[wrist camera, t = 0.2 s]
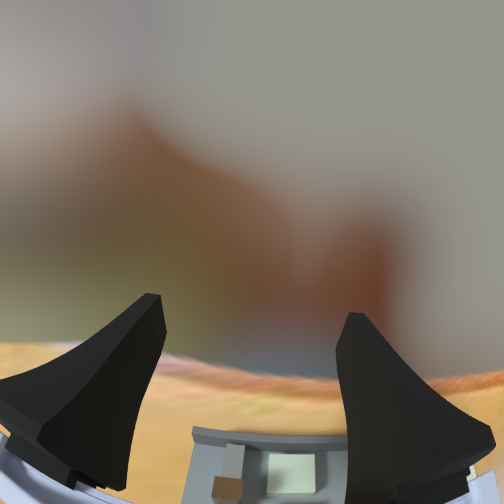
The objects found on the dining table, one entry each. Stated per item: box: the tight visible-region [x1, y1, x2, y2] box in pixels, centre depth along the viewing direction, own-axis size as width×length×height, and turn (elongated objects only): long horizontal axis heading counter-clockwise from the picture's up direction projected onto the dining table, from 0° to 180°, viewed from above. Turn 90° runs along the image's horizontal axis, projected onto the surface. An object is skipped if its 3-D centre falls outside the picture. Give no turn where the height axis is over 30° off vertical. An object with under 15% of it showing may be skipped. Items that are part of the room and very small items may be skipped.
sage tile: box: [265, 454, 315, 497], centre depth 18 cm, size 4×4×2 cm
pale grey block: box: [211, 444, 245, 504], centre depth 15 cm, size 11×2×5 cm, turn 175°
